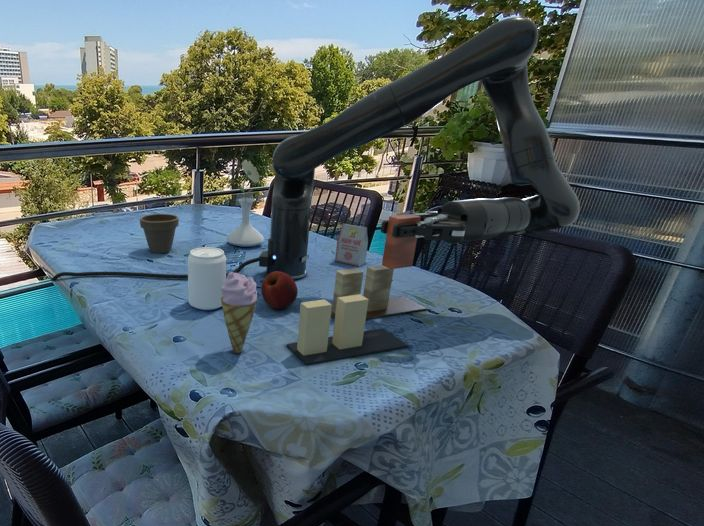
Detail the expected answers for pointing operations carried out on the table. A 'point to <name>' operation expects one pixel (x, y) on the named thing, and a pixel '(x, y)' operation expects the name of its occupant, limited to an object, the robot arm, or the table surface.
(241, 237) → the flower in vase
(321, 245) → the table surface
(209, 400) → the table surface
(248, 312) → the ice cream cone
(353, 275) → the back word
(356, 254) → the white tea box
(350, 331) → the front word
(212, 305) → the beverage can
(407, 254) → the orange rectangular block
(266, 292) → the apple
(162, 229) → the flower pot
